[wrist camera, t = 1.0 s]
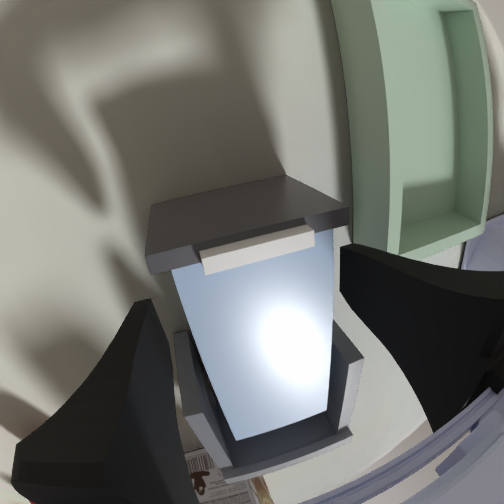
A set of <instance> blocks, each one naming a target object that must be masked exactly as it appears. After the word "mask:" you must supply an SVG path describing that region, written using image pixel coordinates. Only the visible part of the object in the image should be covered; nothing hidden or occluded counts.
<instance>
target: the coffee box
mask: <svg viewBox="0 0 504 504" xmlns="http://www.w3.org/2000/svg"><path fill="white" fill-rule="evenodd" d="M184 455H185V459H186V463H187V466H188V470H189V473H190V476H191V480H192V483H193V486H194V489H195V492H196V495H197V498H198V500H199V503H200V504H274V503H273V500H272V498H271V495H270V493H269V490H268V488H267V485H266V482H265V480H264V477H263V475H261V476H258V477H254V478H250V479H247V480H243V481H239V482H235V483H230V484H227V483H226V482H225V481H224V478H223V475H222V472H221V470H220V469H219V468H218V466H217V465H216V463H215V462H214V461H213V459H212V458H211V457H210V455H209V454H208V452H207V451H206V449H205V448H203V449H199V450H196V451H192V452H188V453H184Z"/></svg>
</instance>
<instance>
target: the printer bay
mask: <svg viewBox="0 0 504 504" xmlns="http://www.w3.org/2000/svg"><path fill="white" fill-rule="evenodd" d="M173 338H174V347H175V356H176V364H177V372H178V380H179V387H180V394H181V401H182V407H183V413H184V418H185V419H186V421H187V422H188V424H189V426H190V427H191V429H192V430H193V432H194V433H195V435H196V436H197V438H198V439H199V441H200V442H201V444H202V445H203V447H204V448H205V449H206V451H207V452H208V454H209V455H210V457H211V458H212V459H213V461H214V462H215V463H216V465H217V466H218V468H219V469H220V470H221V472H222V475H223V478H224V481H225V482H226V483H227V484H230V483H235V482H239V481H243V480H247V479H250V478H254V477H258V476H261V475H264V474H268V473H271V472H274V471H277V470H281V469H284V468H287V467H289V466H292V465H295V464H298V463H301V462H303V461H306V460H309V459H311V458H314V457H316V456H319V455H321V454H324V453H326V452H329V451H331V450H333V449H336V448H338V447H340V446H342V445H345V444H347V443H349V442H351V440H352V437H353V434H352V433H351V431H350V430H349V425H350V421H351V417H352V413H353V409H354V405H355V401H356V396H357V392H358V387H359V383H360V378H361V373H362V368H363V362H364V357H363V355H362V354H361V353H360V352H359V350H358V349H357V348H356V347H355V346H354V344H353V343H352V342H351V341H350V339H349V338H348V337H347V336H346V334H345V333H344V332H343V331H342V329H341V328H340V327H339V326H338V324H337V323H336V322H335V321H334V320H333V323H332V345H331V362H330V376H329V388H328V400H327V410H326V411H323V412H321V413H318V414H316V415H313V416H311V417H308V418H305V419H303V420H300V421H297V422H295V423H292V424H289V425H286V426H283V427H280V428H277V429H274V430H271V431H268V432H265V433H262V434H258V435H255V436H252V437H248V438H245V439H241V440H237V441H236V439H235V437H234V435H233V433H232V431H231V428H230V426H229V424H228V422H227V419H226V417H225V415H224V412H223V410H222V408H221V406H220V403H216V401H215V399H214V397H213V394H212V392H211V390H210V387H209V385H208V382H207V380H206V378H205V375H204V373H203V370H202V368H201V365H200V363H199V360H198V358H197V355H196V353H195V350H194V347H193V345H192V342H191V339H190V337H189V334H188V331H183V332H179V333H175V334H173Z"/></svg>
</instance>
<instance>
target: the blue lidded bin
mask: <svg viewBox="0 0 504 504" xmlns="http://www.w3.org/2000/svg"><path fill="white" fill-rule="evenodd" d="M345 225H349V207H348V206H346V205H344V204H342V203H341V202H339V201H337V200H335V199H333V198H331V197H329V196H327V195H325V194H323V193H321V192H320V191H318V190H316V189H314V188H312V187H310V186H308V185H306V184H304V183H302V182H300V181H298V180H296V179H294V178H291V177H289V176H287V175H285V176H279V177H274V178H269V179H264V180H259V181H254V182H249V183H244V184H239V185H234V186H230V187H225V188H221V189H216V190H212V191H208V192H203V193H199V194H195V195H191V196H186V197H182V198H178V199H174V200H170V201H167V202H163V203H159V204H155V205H152V206H151V212H150V219H149V226H148V233H147V240H146V248H145V260H146V263H147V266H148V269H149V272H150V274H151V275H154V274H158V273H162V272H166V271H170V270H171V272H172V275H173V278H174V281H175V284H176V288H177V291H178V294H179V297H180V300H181V303H182V306H183V309H184V312H185V314H186V317H187V320H188V323H189V326H190V329H191V332H192V334H193V337H194V340H195V342H196V345H197V348H198V351H199V353H200V356H201V358H202V361H203V364H204V366H205V369H206V371H207V374H208V376H209V379H210V381H211V384H212V386H213V389H214V391H215V394H216V396H217V398H218V401H219V403H220V406H221V408H222V410H223V412H224V415H225V417H226V419H227V422H228V424H229V426H230V428H231V431H232V433H233V435H234V437H235V439H236V441H237V440H241V439H245V438H248V437H252V436H255V435H258V434H262V433H265V432H268V431H271V430H274V429H277V428H280V427H283V426H286V425H289V424H292V423H295V422H297V421H300V420H303V419H305V418H308V417H311V416H313V415H316V414H318V413H321V412H323V411H326V410H327V400H328V388H329V376H330V362H331V345H332V323H333V276H334V260H333V228H337V227H341V226H345Z"/></svg>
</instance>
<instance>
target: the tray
mask: <svg viewBox="0 0 504 504" xmlns="http://www.w3.org/2000/svg"><path fill="white" fill-rule="evenodd" d="M331 5H332V9H333V14H334V19H335V24H336V30H337V35H338V41H339V47H340V53H341V59H342V66H343V73H344V81H345V89H346V98H347V107H348V117H349V129H350V142H351V158H352V180H353V243H355V244H361V245H365V246H369V247H372V248H376V249H379V250H382V251H386V252H389V253H392V254H396V255H399V256H402V257H406V258H410V259H413V260H417V261H419V260H422V259H424V258H427V257H429V256H432V255H434V254H437V253H439V252H441V251H444V250H446V249H449V248H451V247H453V246H456V245H458V244H460V243H463V242H465V241H467V240H469V239H472V238H474V237H476V236H478V235H481V234H483V233H484V230H485V224H486V218H487V211H488V204H489V196H490V187H491V176H492V161H493V104H492V90H491V79H490V70H489V63H488V56H487V50H486V44H485V39H484V34H483V29H482V25H481V20H480V16H479V12H478V9H477V5H476V3H475V2H473V1H471V0H331Z"/></svg>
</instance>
